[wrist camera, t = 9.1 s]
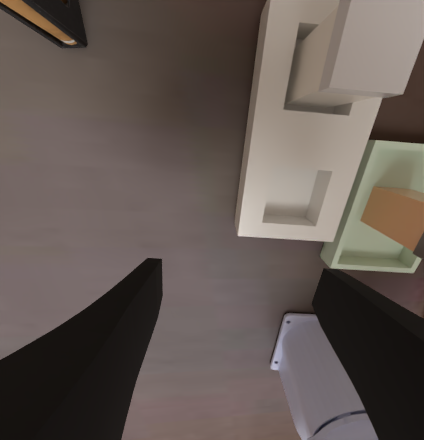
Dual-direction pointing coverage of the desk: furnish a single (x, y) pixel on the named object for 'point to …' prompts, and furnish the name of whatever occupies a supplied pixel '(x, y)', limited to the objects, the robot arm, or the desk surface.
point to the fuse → (357, 53)
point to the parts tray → (361, 189)
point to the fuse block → (296, 138)
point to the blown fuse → (397, 216)
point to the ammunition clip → (50, 19)
